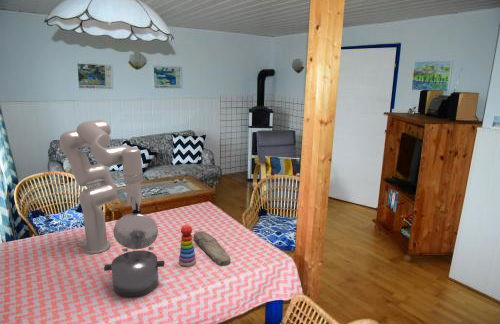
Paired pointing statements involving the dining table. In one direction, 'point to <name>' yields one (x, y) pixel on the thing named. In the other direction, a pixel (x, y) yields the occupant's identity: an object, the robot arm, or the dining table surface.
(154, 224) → the cooker lid
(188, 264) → the stacking toy
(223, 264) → the elongated rock
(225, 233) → the dining table surface
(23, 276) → the dining table surface
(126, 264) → the cooker pot
